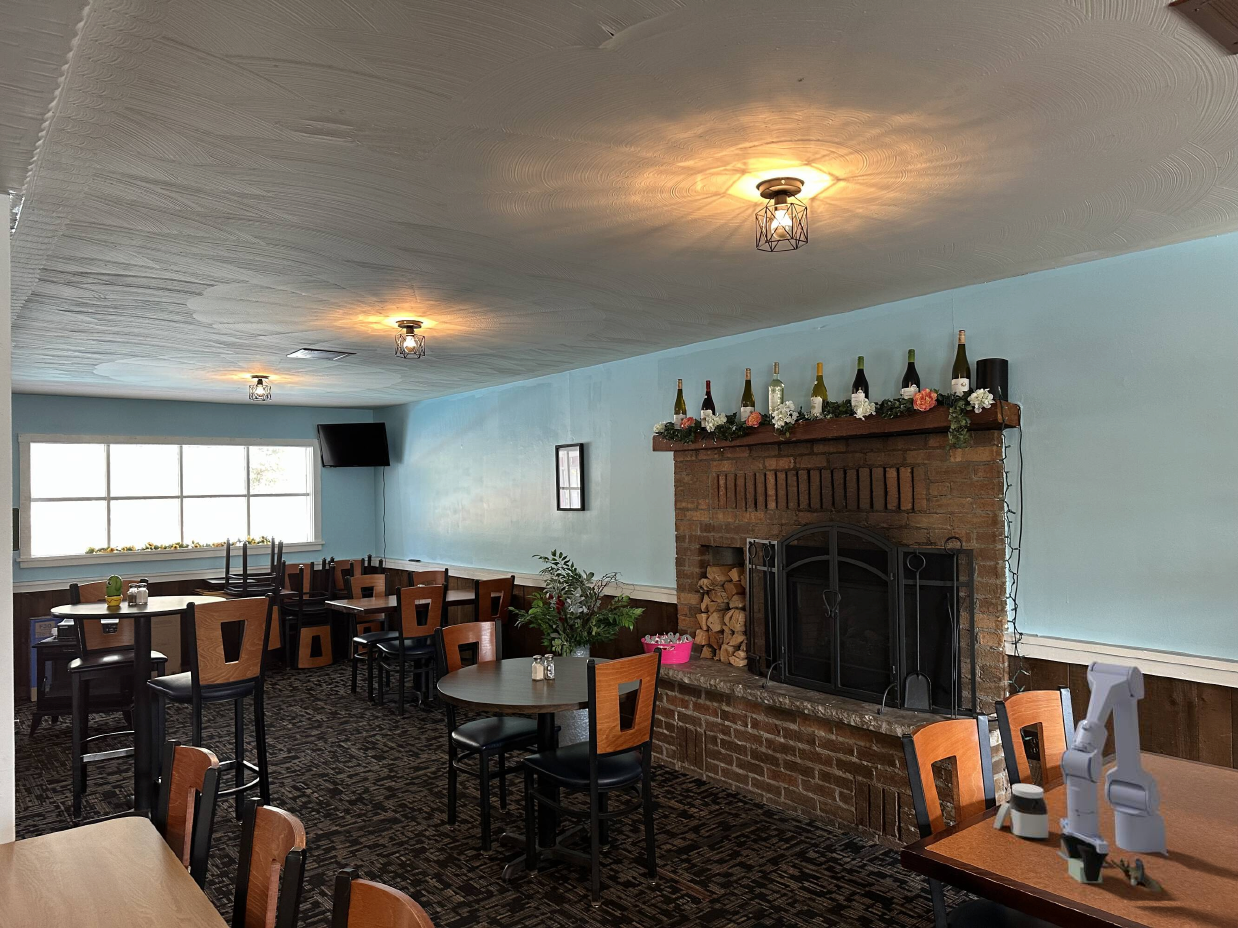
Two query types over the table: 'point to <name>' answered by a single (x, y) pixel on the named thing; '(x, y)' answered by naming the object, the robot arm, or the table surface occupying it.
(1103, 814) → the table surface
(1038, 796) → the spread jar
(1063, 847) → the walnut block
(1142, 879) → the eagle figurine
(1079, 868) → the green block
